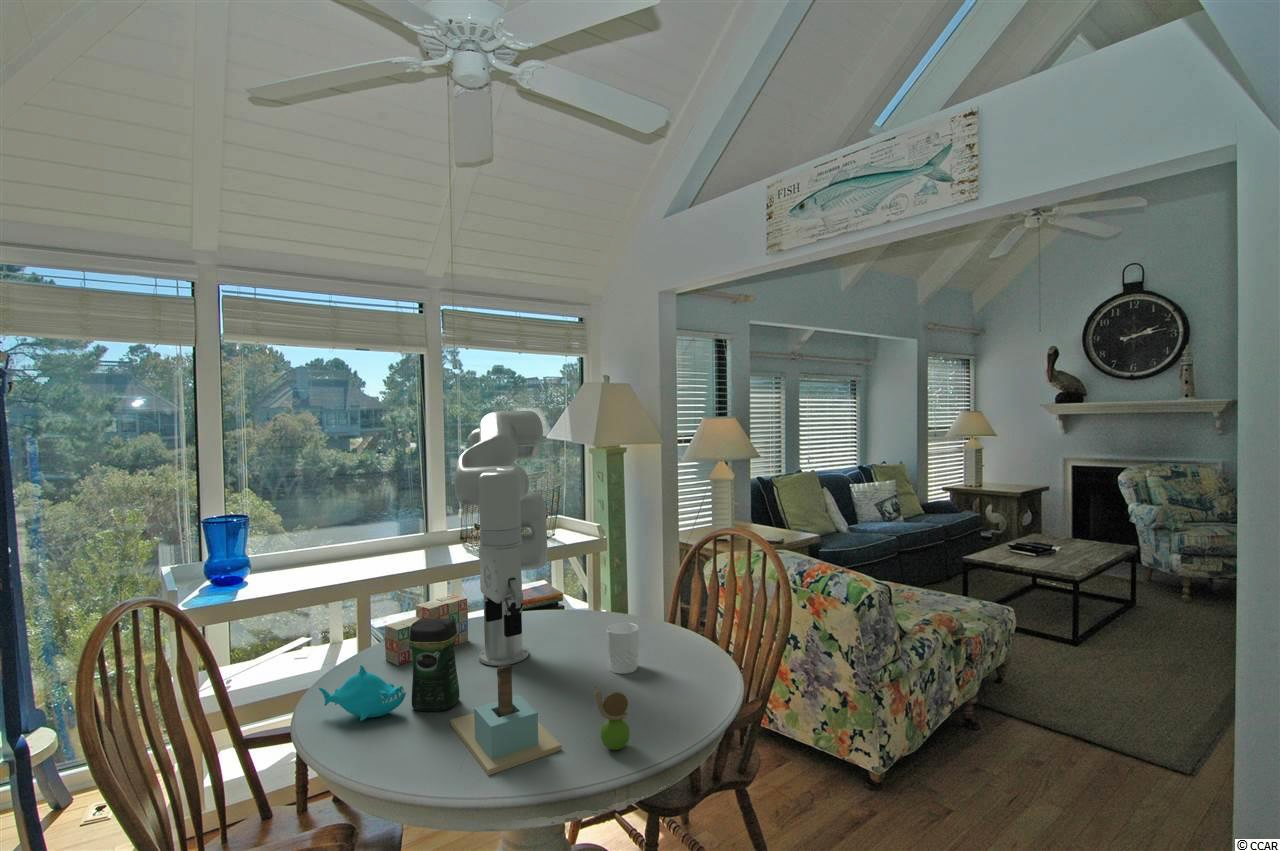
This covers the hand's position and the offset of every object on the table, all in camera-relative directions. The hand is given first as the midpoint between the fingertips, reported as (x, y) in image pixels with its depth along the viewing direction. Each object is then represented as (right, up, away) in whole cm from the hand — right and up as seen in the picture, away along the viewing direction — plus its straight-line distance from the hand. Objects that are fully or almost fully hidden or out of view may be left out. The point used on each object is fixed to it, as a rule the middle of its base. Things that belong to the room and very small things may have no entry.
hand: (503, 627), depth 116 cm
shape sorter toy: (-1, -22, +4) cm, 23 cm away
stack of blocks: (-31, -23, +51) cm, 64 cm away
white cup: (+22, -22, +35) cm, 47 cm away
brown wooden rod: (+1, -21, 0) cm, 21 cm away
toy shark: (-33, -23, +14) cm, 42 cm away
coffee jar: (-19, -23, +18) cm, 35 cm away
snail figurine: (+21, -22, -1) cm, 30 cm away
